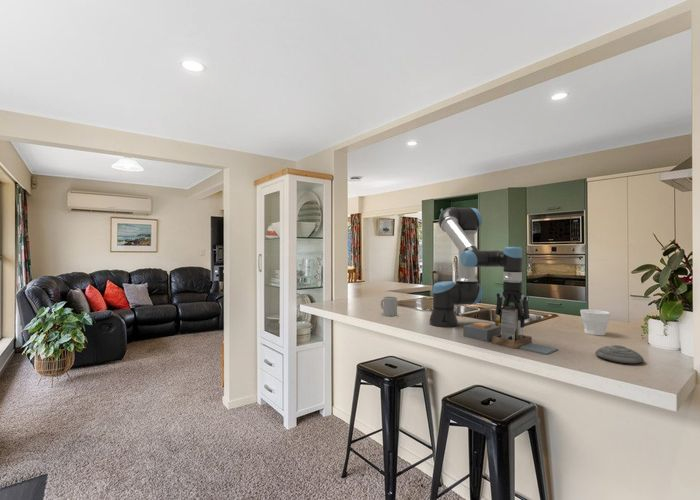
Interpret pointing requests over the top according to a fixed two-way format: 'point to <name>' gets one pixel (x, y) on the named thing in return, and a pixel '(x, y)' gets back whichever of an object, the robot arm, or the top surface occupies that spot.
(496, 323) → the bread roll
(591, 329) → the cup
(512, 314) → the coffee box
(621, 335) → the top surface
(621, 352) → the grey flat stone
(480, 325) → the release button
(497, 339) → the wooden tray
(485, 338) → the button housing
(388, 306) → the mug
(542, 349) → the slate mat
